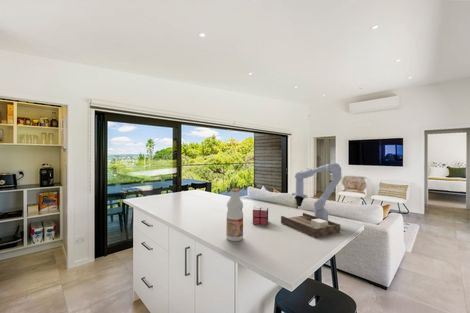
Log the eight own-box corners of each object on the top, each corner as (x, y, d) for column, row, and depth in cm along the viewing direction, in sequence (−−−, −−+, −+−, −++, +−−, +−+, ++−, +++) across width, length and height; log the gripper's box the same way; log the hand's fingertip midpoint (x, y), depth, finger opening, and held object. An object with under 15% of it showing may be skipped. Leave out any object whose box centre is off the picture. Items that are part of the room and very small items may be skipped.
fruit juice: (224, 236, 130) (225, 188, 130) (240, 235, 132) (241, 187, 132) (228, 242, 121) (228, 190, 120) (244, 241, 123) (245, 190, 123)
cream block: (319, 224, 144) (319, 218, 144) (327, 227, 137) (328, 221, 137) (311, 226, 141) (311, 219, 141) (319, 229, 134) (319, 222, 134)
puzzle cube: (267, 225, 151) (267, 210, 151) (252, 224, 153) (252, 209, 153) (268, 221, 161) (268, 207, 161) (254, 220, 163) (254, 206, 163)
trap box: (303, 219, 166) (303, 212, 166) (339, 232, 138) (340, 224, 138) (281, 223, 156) (281, 215, 156) (315, 237, 128) (315, 229, 128)
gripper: (289, 187, 172) (288, 204, 172) (302, 189, 159) (302, 208, 159) (296, 186, 175) (295, 203, 175) (309, 189, 162) (309, 207, 162)
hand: (299, 206), depth 168 cm, fingers closed
